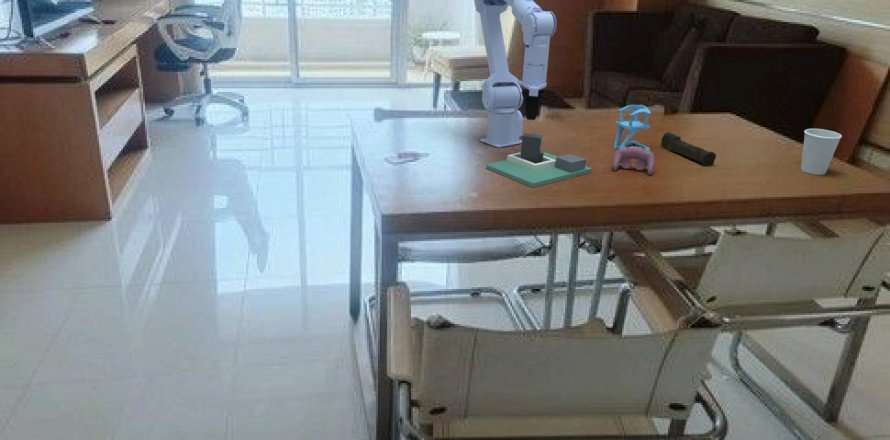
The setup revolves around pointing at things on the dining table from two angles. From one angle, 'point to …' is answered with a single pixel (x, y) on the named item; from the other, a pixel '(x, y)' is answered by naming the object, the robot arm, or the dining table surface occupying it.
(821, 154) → the dixie cup
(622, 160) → the video game controller
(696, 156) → the hand tool
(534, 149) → the dark grey upright block
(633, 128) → the chair
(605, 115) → the dining table surface
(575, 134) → the dining table surface
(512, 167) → the circuit board
